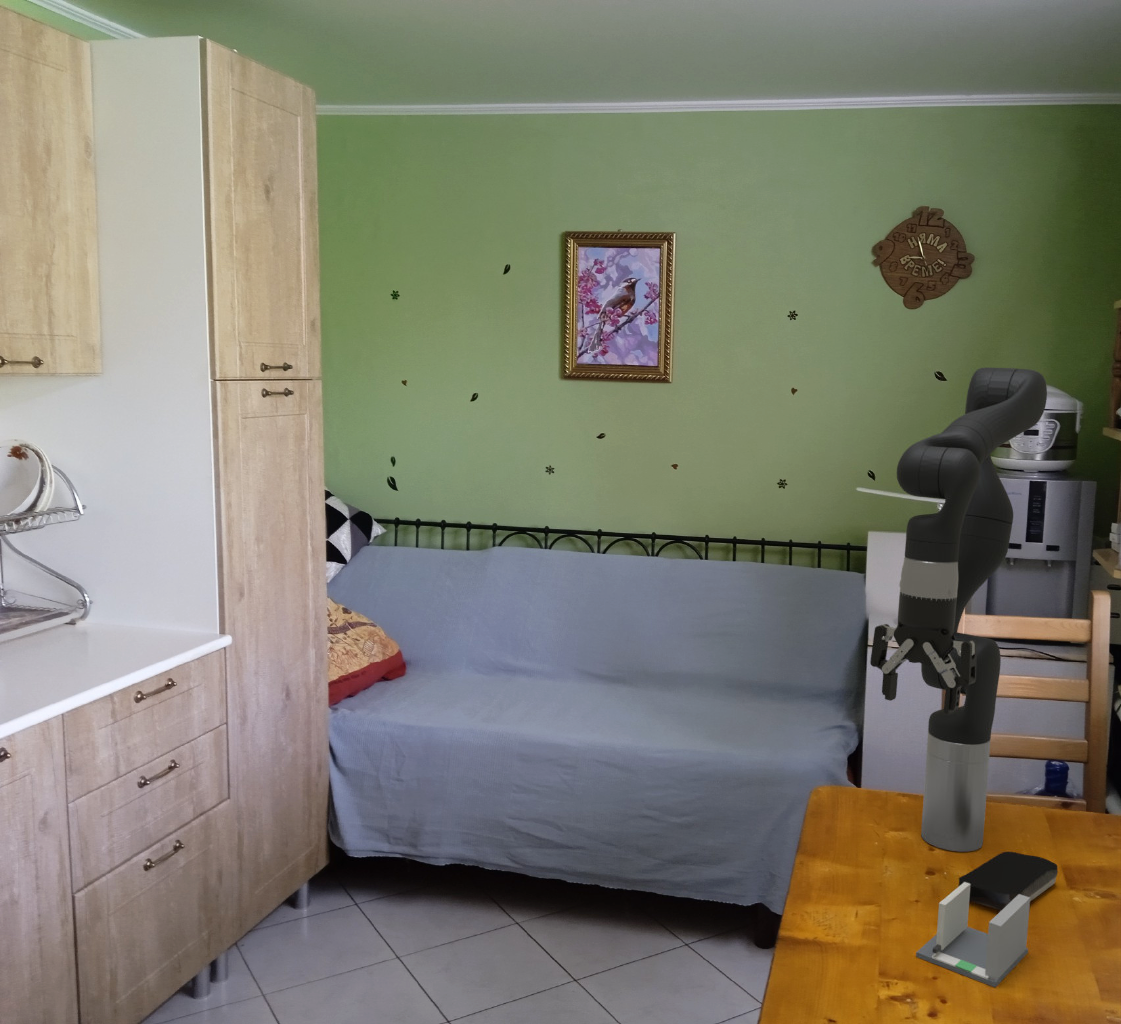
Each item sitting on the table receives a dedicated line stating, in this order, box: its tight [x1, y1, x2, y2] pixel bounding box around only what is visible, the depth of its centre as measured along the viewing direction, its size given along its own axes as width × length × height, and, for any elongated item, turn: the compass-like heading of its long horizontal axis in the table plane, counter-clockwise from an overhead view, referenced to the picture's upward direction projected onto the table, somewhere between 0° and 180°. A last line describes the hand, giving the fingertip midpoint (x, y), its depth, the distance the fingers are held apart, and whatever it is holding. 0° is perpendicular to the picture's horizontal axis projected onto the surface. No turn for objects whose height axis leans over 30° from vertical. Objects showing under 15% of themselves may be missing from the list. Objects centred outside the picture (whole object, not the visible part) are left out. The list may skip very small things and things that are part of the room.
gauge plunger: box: [933, 882, 970, 954], centre depth 141 cm, size 9×1×6 cm, turn 138°
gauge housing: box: [915, 894, 1031, 988], centre depth 139 cm, size 11×10×8 cm
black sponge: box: [957, 851, 1058, 911], centre depth 157 cm, size 16×8×4 cm, turn 133°
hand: (918, 705), depth 153 cm, fingers open, 8 cm apart
